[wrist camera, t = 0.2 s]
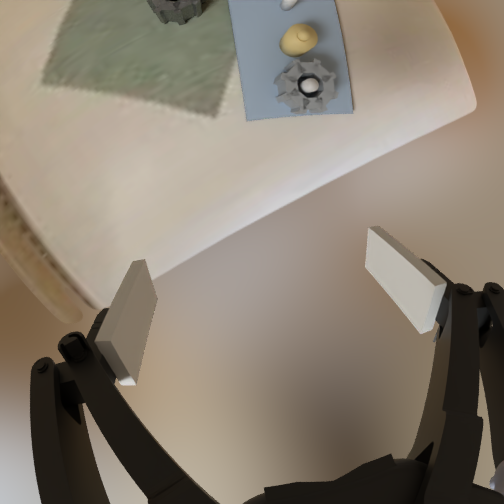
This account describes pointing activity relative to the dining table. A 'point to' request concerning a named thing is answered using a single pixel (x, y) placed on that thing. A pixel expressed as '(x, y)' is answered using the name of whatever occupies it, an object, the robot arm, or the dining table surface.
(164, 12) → the gear
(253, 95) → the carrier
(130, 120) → the dining table surface
